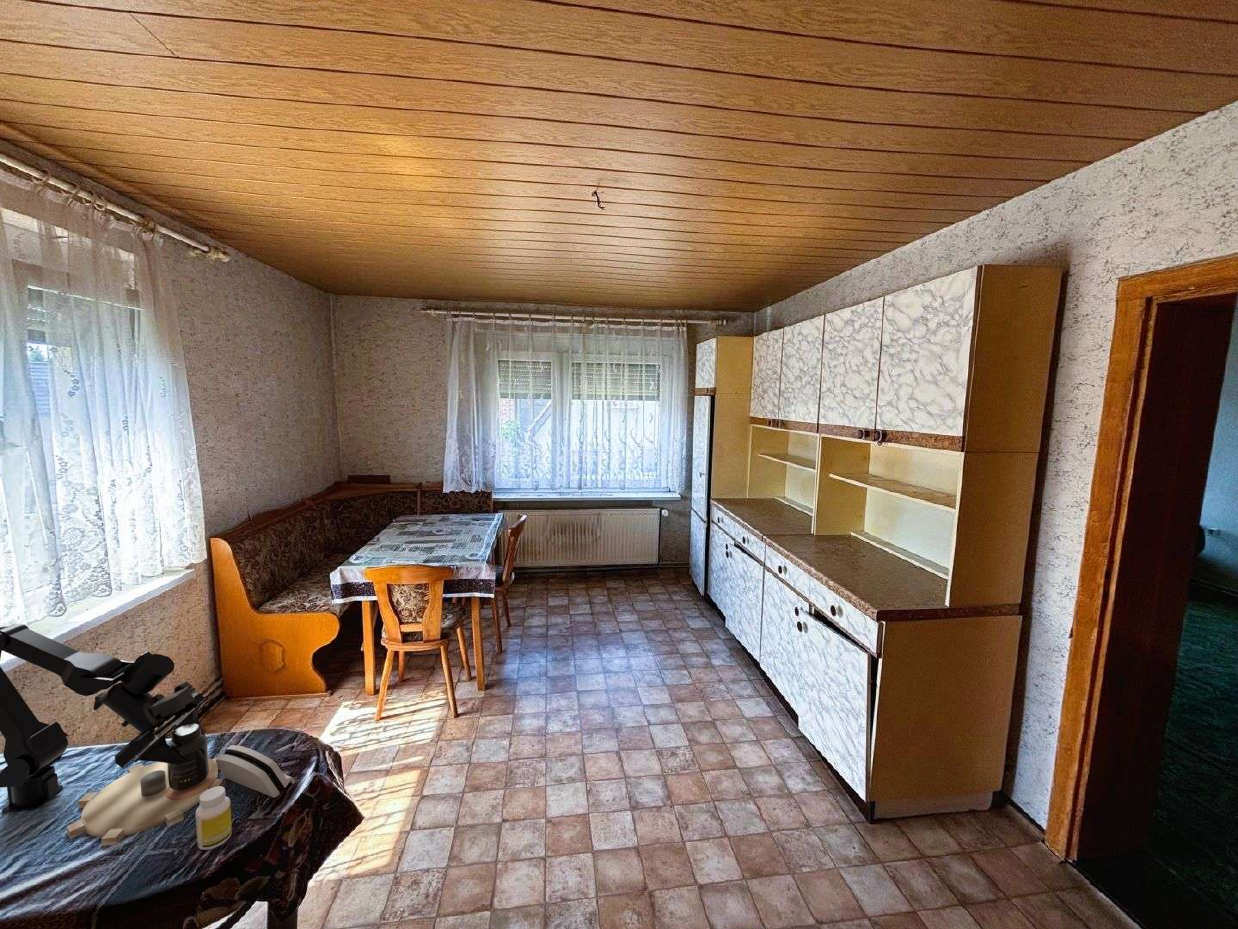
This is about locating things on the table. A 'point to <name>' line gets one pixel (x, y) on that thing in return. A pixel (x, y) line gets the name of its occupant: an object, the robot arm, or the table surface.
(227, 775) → the white arched block
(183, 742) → the supplement bottle
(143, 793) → the sprocket wheel
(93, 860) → the table surface
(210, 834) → the supplement bottle
